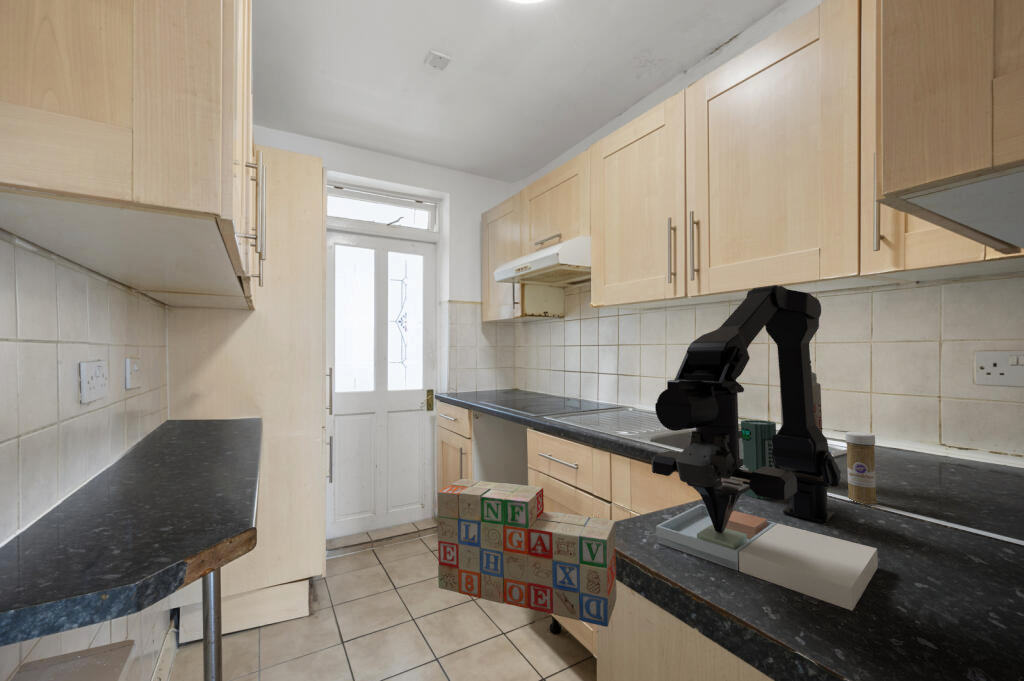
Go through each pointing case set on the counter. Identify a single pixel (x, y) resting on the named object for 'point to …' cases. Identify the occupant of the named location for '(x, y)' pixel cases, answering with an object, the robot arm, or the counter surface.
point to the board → (811, 564)
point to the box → (684, 538)
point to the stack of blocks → (525, 551)
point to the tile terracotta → (746, 524)
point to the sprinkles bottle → (861, 467)
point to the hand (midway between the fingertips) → (719, 531)
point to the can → (757, 447)
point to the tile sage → (723, 537)
